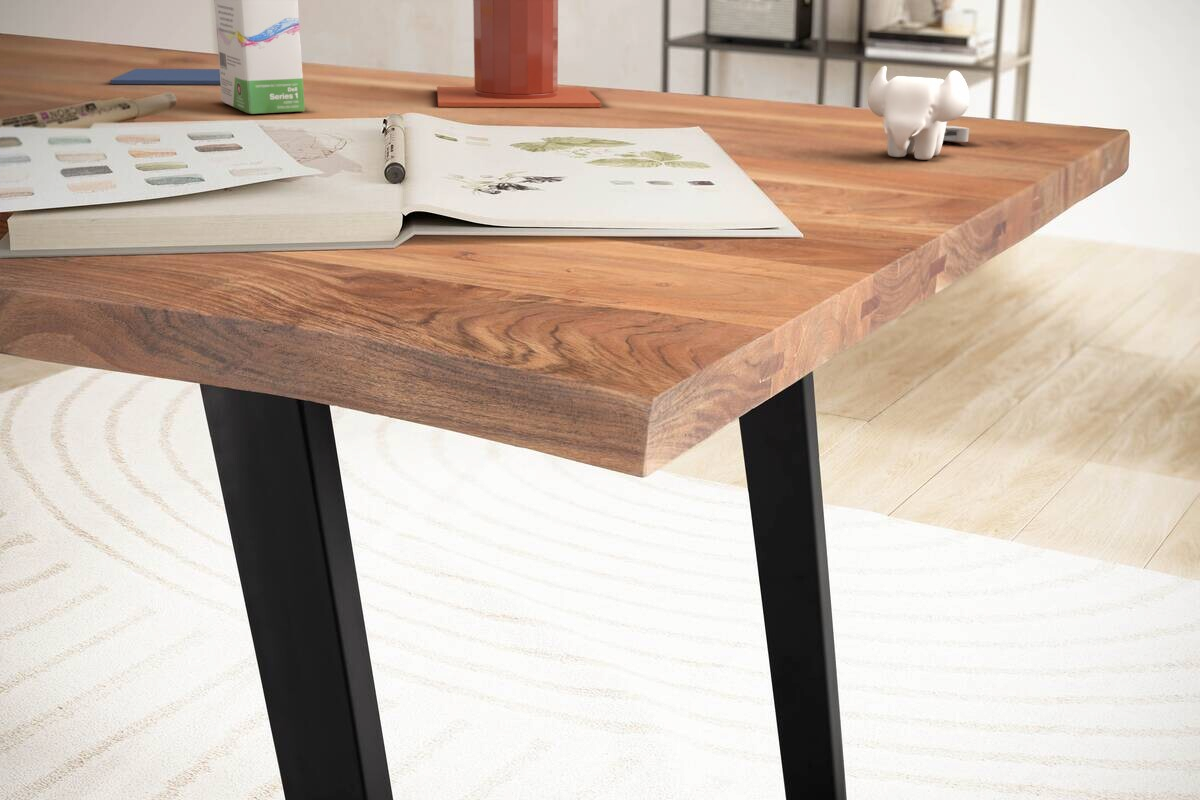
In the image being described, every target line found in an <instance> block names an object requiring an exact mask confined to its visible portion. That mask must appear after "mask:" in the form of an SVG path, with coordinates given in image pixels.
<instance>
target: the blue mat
mask: <svg viewBox="0 0 1200 800" xmlns="http://www.w3.org/2000/svg"><path fill="white" fill-rule="evenodd" d="M110 85H181V86H182V85H183V86H184V85H193V86H194V85H196V86H199V85H202V86H204V85H205V86H206V85H207V86H208V85H211V86H213V85H214V86H215V85H216V86H217V85H218V86H219V85H220V86H221V84H220V69H219V68H134V69H132V70H130V71H127V72H125V73H123V74H121V75H118V76H116V77H114V78H111V79H110Z"/></svg>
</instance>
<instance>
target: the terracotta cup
mask: <svg viewBox="0 0 1200 800" xmlns="http://www.w3.org/2000/svg"><path fill="white" fill-rule="evenodd" d="M472 8H473V9H472V24H473V25H472V26H473V27H472V28H473V30H472V32H473V35H472V36H473V87H474V89H475V95H477V96H480V97H487V98H497V99H541V98H550V97H555V96H557V90H558V87H559V86H558V85H559V84H558V82H559V80H558V75H559V74H558V73H559V72H558V71H559V70H558V66H559V63H558V62H559V0H472Z"/></svg>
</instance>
